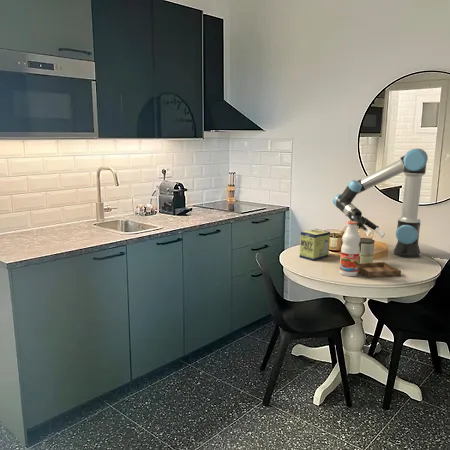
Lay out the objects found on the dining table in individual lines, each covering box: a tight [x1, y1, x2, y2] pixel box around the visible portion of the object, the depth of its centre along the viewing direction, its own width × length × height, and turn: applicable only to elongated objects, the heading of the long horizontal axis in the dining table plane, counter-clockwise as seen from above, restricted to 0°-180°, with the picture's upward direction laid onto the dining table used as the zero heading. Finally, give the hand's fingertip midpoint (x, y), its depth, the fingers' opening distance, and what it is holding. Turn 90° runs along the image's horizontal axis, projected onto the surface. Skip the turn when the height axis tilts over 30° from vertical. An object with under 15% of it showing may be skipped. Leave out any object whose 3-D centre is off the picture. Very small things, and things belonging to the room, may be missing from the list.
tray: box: [358, 261, 402, 279], centre depth 241 cm, size 19×16×3 cm
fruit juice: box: [339, 220, 361, 277], centre depth 236 cm, size 9×9×28 cm
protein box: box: [299, 228, 331, 262], centre depth 268 cm, size 10×16×16 cm
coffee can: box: [359, 237, 376, 263], centre depth 256 cm, size 10×10×14 cm
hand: (377, 234), depth 256 cm, fingers open, 13 cm apart
